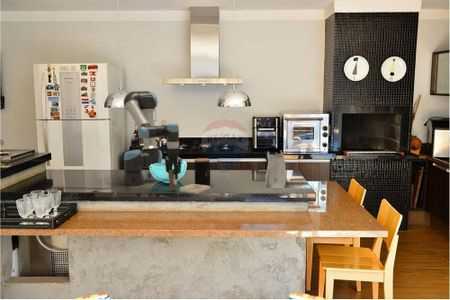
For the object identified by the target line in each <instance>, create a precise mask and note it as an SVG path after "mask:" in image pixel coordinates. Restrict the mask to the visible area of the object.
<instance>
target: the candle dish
mask: <svg viewBox="0 0 450 300" xmlns="http://www.w3.org/2000/svg"><path fill="white" fill-rule="evenodd" d="M210 190H211V187H210V185H209V186H206V185H198V184H195V183H191V184H187V185H184V186H181V187H179V192H180V193H181V192H182V193H187V194H188V193H189V194H194V195H199V194H201V193H205V192H208V191H210Z"/></svg>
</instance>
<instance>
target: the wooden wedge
mask: <svg viewBox="0 0 450 300" xmlns="http://www.w3.org/2000/svg"><path fill="white" fill-rule="evenodd" d="M174 174H175V173H174V168H172V170H169V173H168V176H169V175H170V178H169V189H171V190H174V189H177V188H178V183H177V184H175V185H174Z"/></svg>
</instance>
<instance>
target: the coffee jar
mask: <svg viewBox="0 0 450 300" xmlns="http://www.w3.org/2000/svg"><path fill="white" fill-rule="evenodd" d="M210 161H211V158H206V157H205V158H199V157H198V158H195V159H194V184H198V185H206V186H210V185H211V162H210Z"/></svg>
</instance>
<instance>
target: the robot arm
mask: <svg viewBox="0 0 450 300" xmlns="http://www.w3.org/2000/svg"><path fill="white" fill-rule="evenodd" d="M158 103H159V102H158V97H157V95H156V94H155V92H153V91H148V90H147V91H146V90H144V91H143V90H142V91H138V90H137V91H130V92H128V93H127V94H125V97H124V99H123V107H124V109H125V110H126V111H127V112H128V113H129V115H130V116H131V117H132V119H133V121H134V123H135V124H136V126H137V128H138V129H137V136H138V137H139V138H140V139H143V140H142V141H143V147H142V149H132V150H128V151H125V152H124V154H123V161H124V163H123V165H124V166H123V168H124V175H123V178H122V180H121V182H122V184H121V185H123V186H129V187H134V186H135V187H136V186H137V187H138V186H142V185H145V179H144V175H143V173H142V172H143V171H142V169H145V168H146V169H147V168H150V167H149V166H150V165H151V164H154V163H161V164H162V162H163V159H164V165H165V166H164V167H165V172H166V173H168V179H170V175H169V170H172V169H174V173H175V174H174V185H175V184H177V185H178V180H179V174H181V172H182V162H183V158H180V156H179V154H180V148H179V147H180V141H179V140H180V135H179V134H180V129H179V127H180V126H179V123H167V124H164V125H163V124H162V125H155V118H154V117H155V116H154V112H155V110H156V108H157V107H158ZM157 138H166V153H167V155H166V156H165V157H163V153H162V151H161V149H159V146H157V143H156V142H157Z"/></svg>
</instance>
